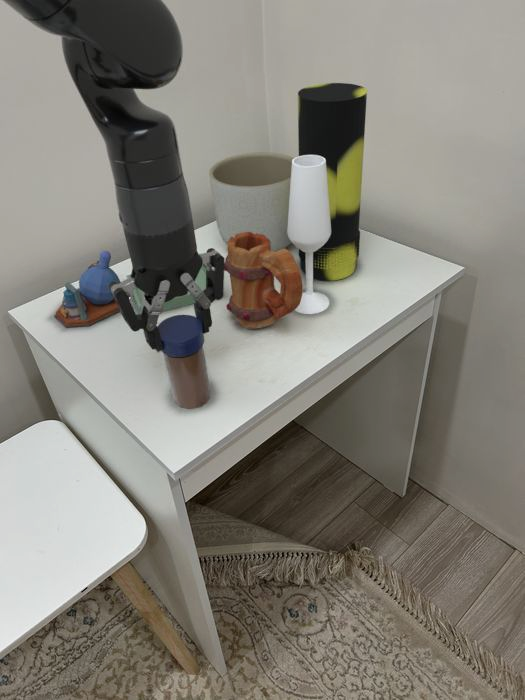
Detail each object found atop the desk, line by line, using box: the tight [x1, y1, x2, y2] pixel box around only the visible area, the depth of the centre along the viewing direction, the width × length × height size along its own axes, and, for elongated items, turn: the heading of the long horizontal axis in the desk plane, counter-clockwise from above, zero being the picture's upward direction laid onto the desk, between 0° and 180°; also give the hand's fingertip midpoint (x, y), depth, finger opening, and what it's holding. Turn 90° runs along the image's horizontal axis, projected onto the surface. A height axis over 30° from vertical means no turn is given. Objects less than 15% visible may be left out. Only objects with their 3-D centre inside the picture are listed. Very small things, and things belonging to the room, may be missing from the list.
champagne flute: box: [287, 155, 331, 315], centre depth 84 cm, size 7×7×24 cm
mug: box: [224, 232, 304, 329], centre depth 82 cm, size 15×8×15 cm, turn 42°
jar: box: [162, 345, 212, 410], centre depth 72 cm, size 5×5×11 cm
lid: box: [156, 314, 205, 357], centre depth 69 cm, size 6×6×2 cm
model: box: [53, 250, 122, 329], centre depth 91 cm, size 12×9×9 cm
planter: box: [208, 151, 295, 252], centre depth 104 cm, size 17×17×15 cm
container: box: [297, 82, 368, 282], centre depth 91 cm, size 11×11×30 cm
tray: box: [126, 264, 206, 314], centre depth 96 cm, size 14×11×2 cm
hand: (181, 338), depth 69 cm, fingers closed on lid, 6 cm apart
